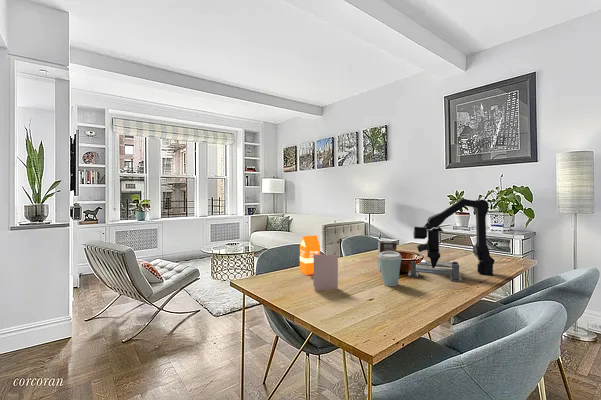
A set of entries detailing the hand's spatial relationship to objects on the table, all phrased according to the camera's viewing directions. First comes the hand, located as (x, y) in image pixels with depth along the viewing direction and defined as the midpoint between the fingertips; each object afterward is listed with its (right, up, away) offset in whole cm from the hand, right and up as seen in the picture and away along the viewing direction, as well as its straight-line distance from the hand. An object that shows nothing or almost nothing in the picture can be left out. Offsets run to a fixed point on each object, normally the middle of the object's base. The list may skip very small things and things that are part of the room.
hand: (433, 267), depth 169 cm
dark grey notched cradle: (-5, -2, -12) cm, 13 cm away
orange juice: (-69, -2, -2) cm, 69 cm away
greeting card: (-63, -3, -31) cm, 70 cm away
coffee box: (-25, -2, +2) cm, 25 cm away
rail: (0, +2, 0) cm, 2 cm away
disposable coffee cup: (-31, -3, -24) cm, 40 cm away
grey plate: (0, -2, 0) cm, 2 cm away
